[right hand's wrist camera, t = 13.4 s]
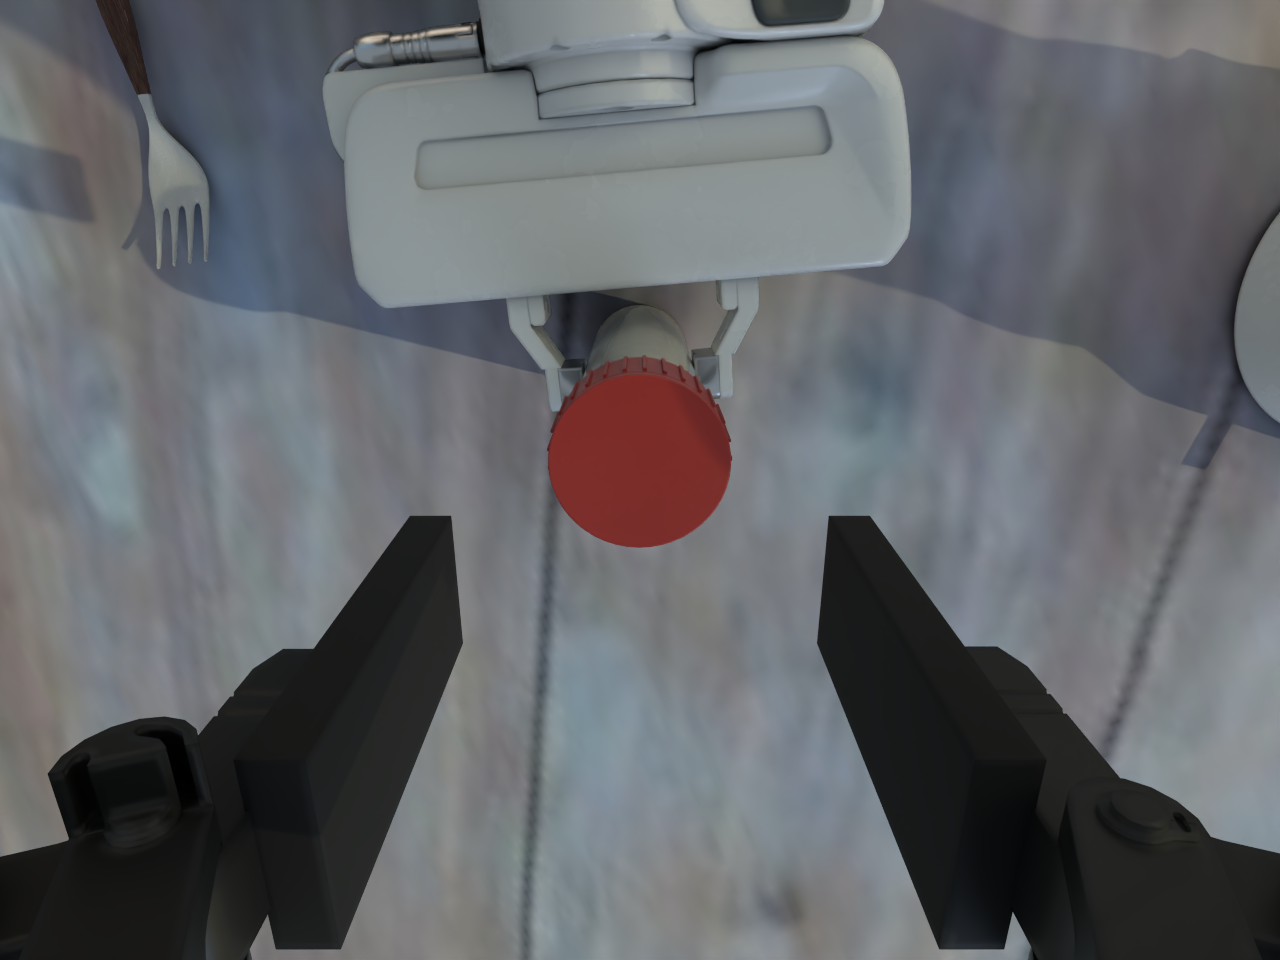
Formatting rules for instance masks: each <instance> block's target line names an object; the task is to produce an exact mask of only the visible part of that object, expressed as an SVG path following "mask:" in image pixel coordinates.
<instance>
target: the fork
mask: <svg viewBox="0 0 1280 960" xmlns="http://www.w3.org/2000/svg"><path fill="white" fill-rule="evenodd" d="M96 2H97V5H98V7H99V10H100V12H101V15H102V17H103V20H104V22H105V24H106V27H107V29H108V31H109V34H110V36H111V38H112V40H113V42H114V45H115V47H116V49H117V51H118V54H119V56H120V58H121V60H122V62H123V65H124V67H125V69H126V71H127V73H128V75H129V78H130V80H131V82H132V84H133V86H134V89H135V91H136V93H137V95H138V98H139V100H140V102H141V105H142V107H143V110H144V112H145V115H146V118H147V122H148V127H149V160H148V178H149V188H150V194H151V199H152V204H153V209H154V216H155V228H156V248H157V265H156V267H157V269H160V268H161V255H162V240H163V215H164V210H165V209H168V210H169V213H170V219H171V234H172V256H173V260H172V264H173V266H174V267H175V266H176V260H177V246H178V223H179V209H180V207H181V206H183V207H184V209H185V213H186V223H187V238H188V262H189V264H191V263H192V253H193V236H194V210H195V205H196V204H197V203H198V204H199V205H200V208H201V214H202V226H203V242H204V261H206V262H207V261H208V245H209V221H210V213H209V186H208V181H207V178H206V175H205V173H204V171H203V169H202V168H201V166H200V165H199V163H198V162H197V161H196V159H195V158H194V157H193V156H192V155H191V154H190V153H189V152H188V151H187V150H186V149H185V148H184V147H183V146H182V145H181V144H180V143H178V142H177V141H176V140H175V139H174V138H173V137H172V136H171V135H170V134H169V133H168V132H167V131H166V129H165V128H164V127H163V126H162V124H161V123H160V121H159V119H158V117H157V114H156V111H155V108H154V105H153V101H152V96H151V92H150V88H149V83H148V79H147V74H146V70H145V65H144V61H143V56H142V52H141V47H140V43H139V38H138V34H137V30H136V26H135V22H134V18H133V14H132V11H131V7H130V4H129V1H128V0H96Z"/></svg>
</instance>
